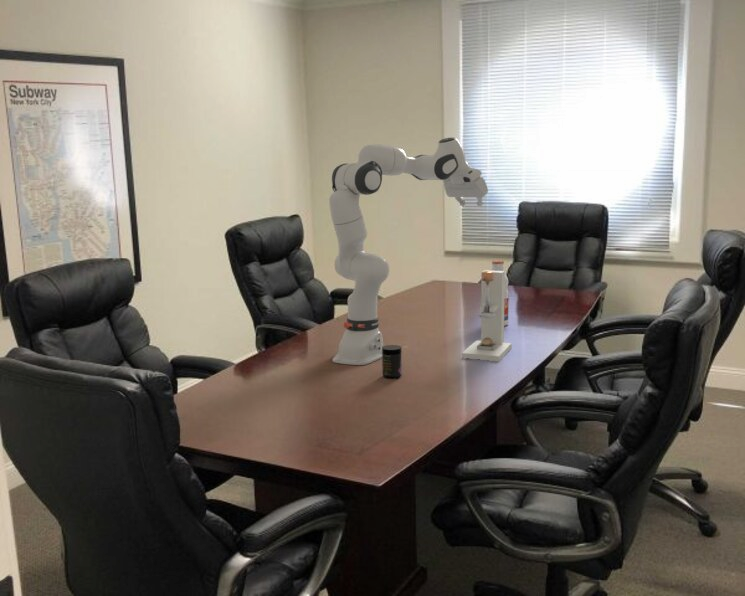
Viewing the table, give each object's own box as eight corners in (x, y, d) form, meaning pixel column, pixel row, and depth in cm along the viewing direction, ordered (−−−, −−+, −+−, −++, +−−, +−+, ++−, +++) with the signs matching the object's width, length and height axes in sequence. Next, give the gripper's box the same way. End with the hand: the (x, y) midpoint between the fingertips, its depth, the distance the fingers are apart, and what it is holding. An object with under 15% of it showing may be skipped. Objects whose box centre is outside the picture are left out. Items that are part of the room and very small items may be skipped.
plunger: (493, 318, 296) (493, 273, 293) (477, 317, 298) (477, 273, 295) (497, 315, 301) (497, 271, 298) (481, 314, 304) (481, 270, 300)
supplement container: (399, 380, 271) (398, 350, 269) (380, 378, 273) (379, 349, 271) (404, 374, 277) (403, 345, 275) (385, 373, 279) (384, 344, 277)
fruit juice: (499, 321, 355) (500, 258, 350) (512, 325, 347) (513, 261, 341) (482, 323, 351) (482, 260, 346) (494, 327, 343) (495, 263, 337)
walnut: (491, 349, 300) (491, 339, 299) (480, 348, 301) (480, 338, 300) (493, 347, 303) (493, 336, 302) (483, 346, 305) (483, 336, 304)
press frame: (499, 361, 291) (499, 280, 285) (461, 358, 296) (461, 278, 290) (511, 348, 309) (512, 271, 303) (476, 345, 314) (476, 269, 308)
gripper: (436, 179, 326) (448, 208, 332) (474, 178, 311) (485, 209, 317) (446, 171, 330) (457, 201, 335) (484, 170, 314) (495, 201, 320)
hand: (471, 205), depth 326 cm, fingers open, 8 cm apart
